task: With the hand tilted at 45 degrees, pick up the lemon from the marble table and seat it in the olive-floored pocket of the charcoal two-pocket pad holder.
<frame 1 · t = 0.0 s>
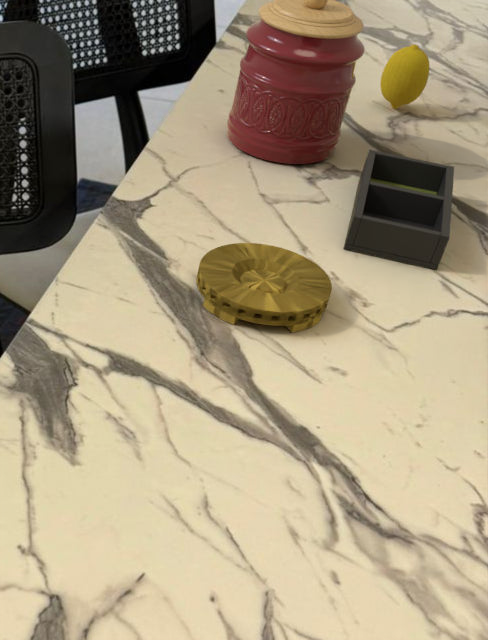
gold flat round disc: (259, 298, 94), on the table
kitchen canister: (279, 144, 121), on the table
lemon: (394, 109, 132), on the table
pad holder: (395, 222, 107), on the table
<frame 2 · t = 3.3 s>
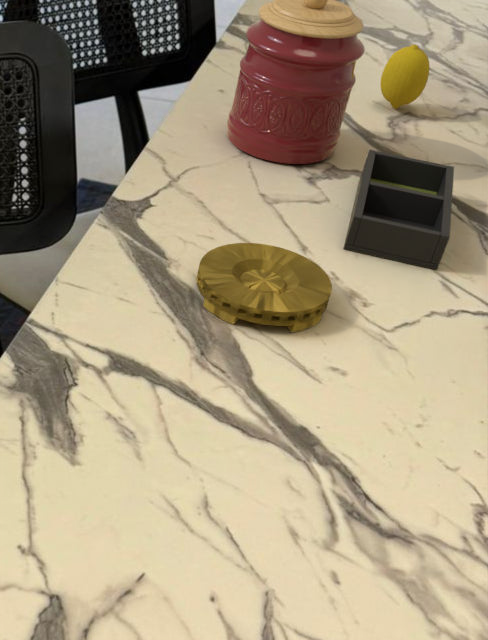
nothing on the table moved.
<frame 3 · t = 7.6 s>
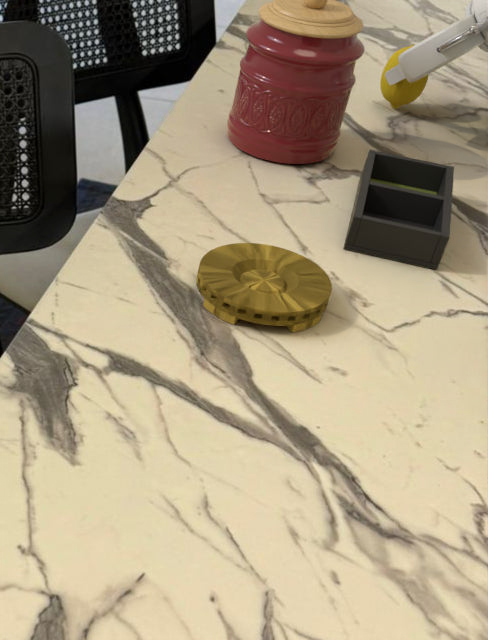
hand: (401, 72, 129), 4 cm above the table, tool tilted 45°, fingers closed on lemon, 5 cm apart
lemon: (393, 110, 132), on the table, touching gripper
everything else where it was.
when the fingers open (5 cm above the table, at t = 20.1 s): lemon stays where it is, resting on pad holder.
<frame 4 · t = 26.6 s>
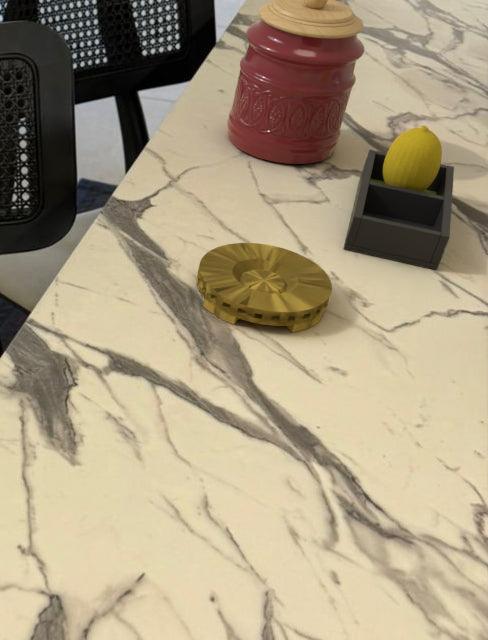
lemon: (399, 200, 110), point 1 cm above the table, touching pad holder
everything else where it was.
at the end: lemon 0.1 cm from the target spot in the pad holder, point 0.6 cm above the pad holder's base; the gripper is holding nothing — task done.
